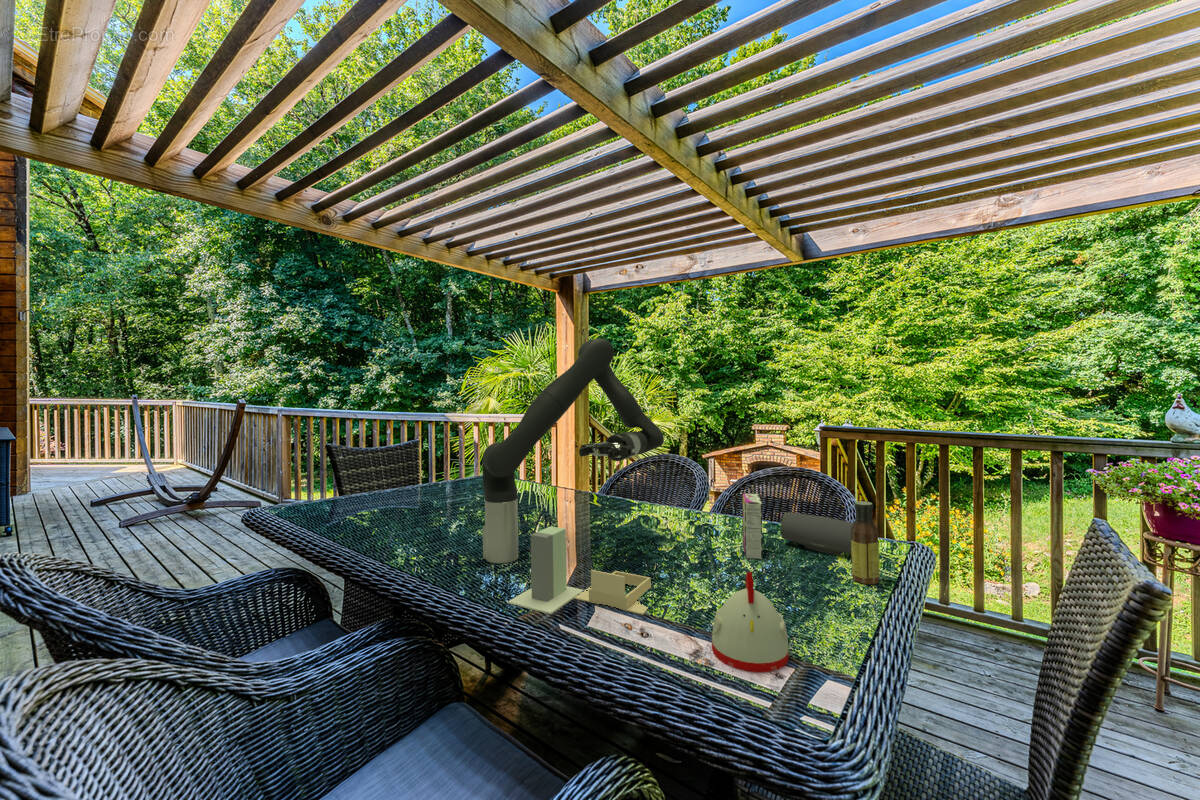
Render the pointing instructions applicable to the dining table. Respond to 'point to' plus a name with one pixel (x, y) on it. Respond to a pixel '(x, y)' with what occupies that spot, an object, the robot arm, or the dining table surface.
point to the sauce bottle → (865, 545)
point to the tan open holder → (616, 590)
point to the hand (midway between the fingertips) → (594, 453)
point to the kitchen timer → (750, 632)
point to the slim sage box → (548, 563)
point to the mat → (542, 606)
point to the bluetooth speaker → (817, 532)
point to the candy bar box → (752, 526)
